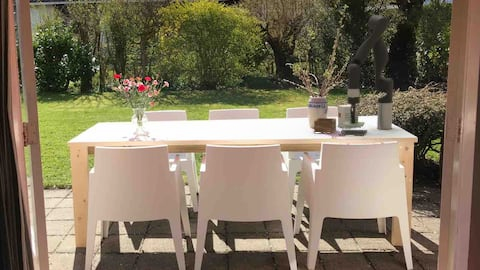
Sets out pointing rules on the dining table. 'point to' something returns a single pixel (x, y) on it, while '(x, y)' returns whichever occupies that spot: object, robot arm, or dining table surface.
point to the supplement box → (343, 115)
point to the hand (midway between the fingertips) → (353, 123)
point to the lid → (356, 125)
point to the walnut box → (325, 125)
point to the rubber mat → (353, 132)
